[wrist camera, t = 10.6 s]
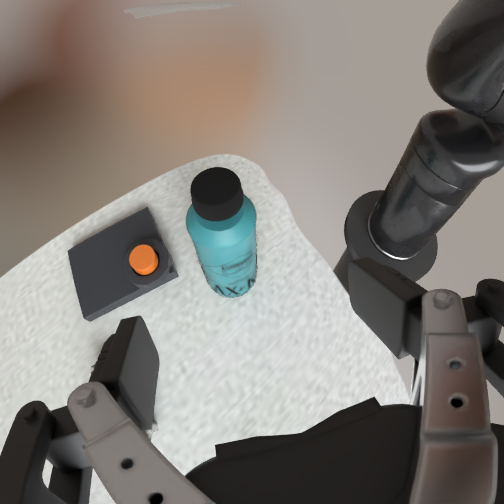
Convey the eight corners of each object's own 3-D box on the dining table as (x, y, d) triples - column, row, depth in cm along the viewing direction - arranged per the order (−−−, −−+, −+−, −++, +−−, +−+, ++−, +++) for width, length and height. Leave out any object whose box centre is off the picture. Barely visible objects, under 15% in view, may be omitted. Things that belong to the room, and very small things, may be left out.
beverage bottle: (199, 279, 40) (154, 187, 22) (234, 247, 42) (217, 141, 24) (232, 313, 38) (208, 239, 20) (268, 278, 40) (276, 181, 21)
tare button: (153, 245, 38) (149, 239, 37) (162, 267, 37) (158, 262, 36) (130, 257, 38) (125, 252, 36) (138, 279, 36) (133, 274, 35)
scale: (152, 212, 45) (145, 200, 41) (182, 280, 40) (175, 270, 36) (73, 255, 42) (62, 246, 38) (91, 326, 37) (79, 320, 34)
